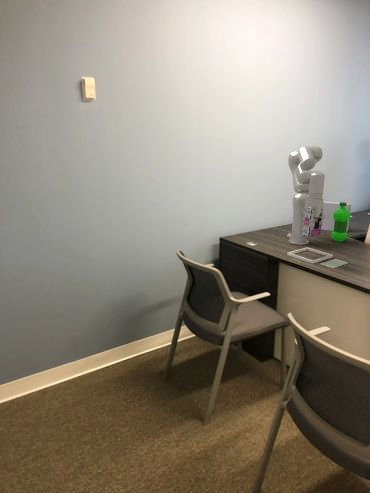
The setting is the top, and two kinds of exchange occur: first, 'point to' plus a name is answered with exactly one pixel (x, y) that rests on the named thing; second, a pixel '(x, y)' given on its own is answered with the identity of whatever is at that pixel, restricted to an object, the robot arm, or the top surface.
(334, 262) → the rubber mat
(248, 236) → the top surface
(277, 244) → the top surface
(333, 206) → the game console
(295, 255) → the grey square frame
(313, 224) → the candy bar box
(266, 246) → the top surface
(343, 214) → the plastic bottle
